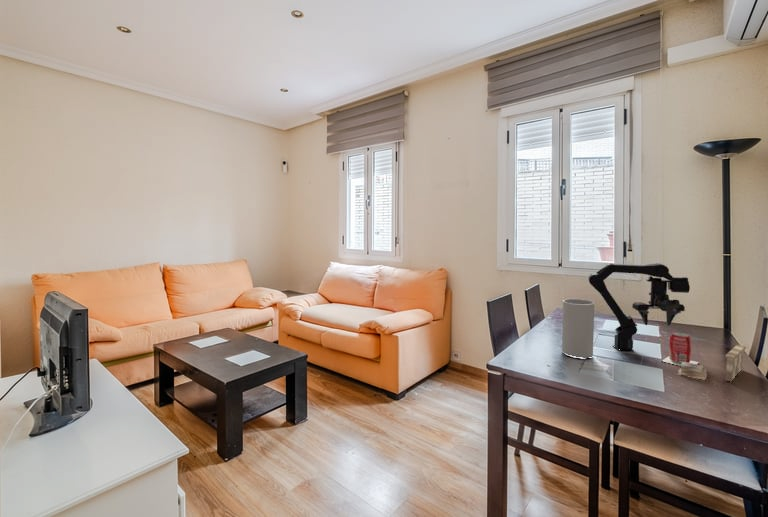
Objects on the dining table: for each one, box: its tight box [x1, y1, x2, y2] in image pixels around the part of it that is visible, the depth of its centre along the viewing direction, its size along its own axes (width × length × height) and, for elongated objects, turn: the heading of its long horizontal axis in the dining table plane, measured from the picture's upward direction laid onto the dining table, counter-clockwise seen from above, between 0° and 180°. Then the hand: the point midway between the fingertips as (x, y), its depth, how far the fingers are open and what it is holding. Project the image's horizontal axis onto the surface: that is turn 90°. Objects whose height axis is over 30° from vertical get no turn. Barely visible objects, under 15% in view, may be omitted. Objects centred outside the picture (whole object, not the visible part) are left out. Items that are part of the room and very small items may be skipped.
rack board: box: [725, 344, 747, 382], centre depth 136 cm, size 18×2×10 cm, turn 125°
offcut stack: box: [677, 362, 708, 380], centre depth 137 cm, size 8×5×4 cm, turn 43°
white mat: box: [661, 355, 700, 367], centre depth 150 cm, size 10×10×1 cm
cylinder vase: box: [561, 298, 595, 358], centre depth 160 cm, size 12×12×25 cm
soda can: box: [668, 331, 692, 364], centre depth 149 cm, size 7×7×12 cm
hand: (657, 325), depth 160 cm, fingers open, 9 cm apart
